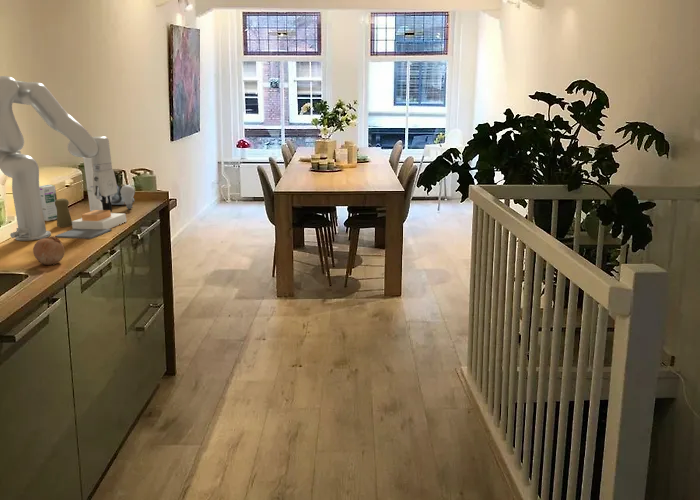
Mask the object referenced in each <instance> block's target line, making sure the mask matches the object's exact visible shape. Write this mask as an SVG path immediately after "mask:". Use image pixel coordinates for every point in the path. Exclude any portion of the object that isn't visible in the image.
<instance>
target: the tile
mask: <svg viewBox="0 0 700 500" xmlns="http://www.w3.org/2000/svg"><path fill="white" fill-rule="evenodd" d="M111 213H112V212H110V210H93V211H90V210H89V211H88V212H85V213H83V214H81V218H82V220H84V221H99V220H101V219H104V218H107V217H110V216H111Z"/></svg>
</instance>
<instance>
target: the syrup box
mask: <svg viewBox="0 0 700 500" xmlns="http://www.w3.org/2000/svg"><path fill="white" fill-rule="evenodd" d="M39 187H40V194H41V200H42V207H43V214H44V220H45V221H46V222H50V221H53V220H57V207H56V206H55V201H56V200H57V199H58V196H57V192H56V191H57V190H56V185H53V184H44V185H39Z"/></svg>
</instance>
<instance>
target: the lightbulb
mask: <svg viewBox="0 0 700 500" xmlns="http://www.w3.org/2000/svg"><path fill="white" fill-rule="evenodd" d="M123 185H124V184H123ZM120 193H121V195H122V197H123V198H124V200H125V204H126V205H125V206H126V209H128V210H131V209H132V208H133V203H134V202H133V198H134V196H135V194H136V190H135V188H134V187H133V185H130V184H125V185H124V186H123V187H122V188H121V190H120Z"/></svg>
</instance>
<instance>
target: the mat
mask: <svg viewBox="0 0 700 500" xmlns="http://www.w3.org/2000/svg"><path fill="white" fill-rule="evenodd" d="M109 232H112V228H110V229H73V228H71V229H70V230H67V231H64V232H61V233H59V234H55V235H54V236H55V237H57V238H58V239H61V238H63V239H64V238H65V239H66V238H67V239H89V240H90V239H94V238H96V237H99V236H102V235H103V234H107V233H109Z"/></svg>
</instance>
